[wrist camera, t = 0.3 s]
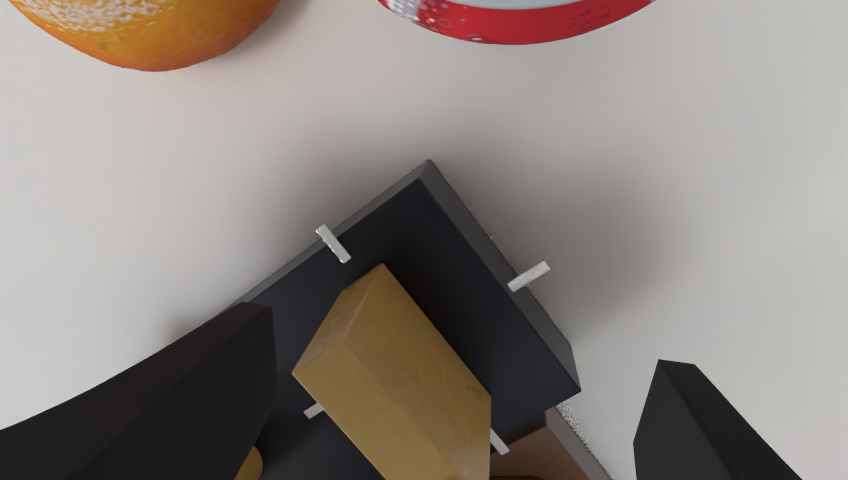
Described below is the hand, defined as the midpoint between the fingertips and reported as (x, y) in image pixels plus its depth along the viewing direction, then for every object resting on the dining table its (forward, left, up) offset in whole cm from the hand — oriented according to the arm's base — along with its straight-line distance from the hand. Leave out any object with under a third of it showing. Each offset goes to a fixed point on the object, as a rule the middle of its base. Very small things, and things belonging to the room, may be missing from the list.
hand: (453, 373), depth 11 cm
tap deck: (-8, -2, -11) cm, 13 cm away
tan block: (-4, -2, -8) cm, 9 cm away
